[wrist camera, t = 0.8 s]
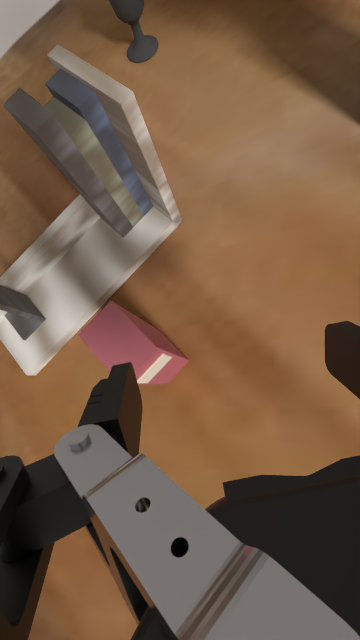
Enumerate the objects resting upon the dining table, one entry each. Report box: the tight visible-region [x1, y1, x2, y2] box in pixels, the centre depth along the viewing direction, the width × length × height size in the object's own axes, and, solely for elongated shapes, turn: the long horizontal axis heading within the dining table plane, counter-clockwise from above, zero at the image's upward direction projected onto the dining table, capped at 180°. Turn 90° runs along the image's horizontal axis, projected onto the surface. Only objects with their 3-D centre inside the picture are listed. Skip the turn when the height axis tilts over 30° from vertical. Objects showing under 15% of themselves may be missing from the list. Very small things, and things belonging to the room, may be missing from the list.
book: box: [78, 301, 189, 384], centre depth 25 cm, size 4×5×12 cm
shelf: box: [0, 44, 182, 376], centre depth 28 cm, size 26×9×16 cm, turn 135°
